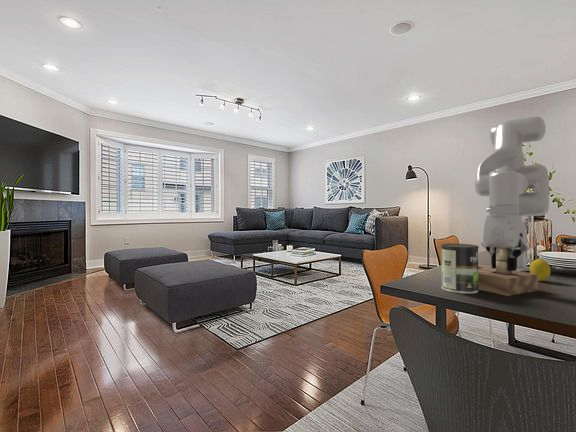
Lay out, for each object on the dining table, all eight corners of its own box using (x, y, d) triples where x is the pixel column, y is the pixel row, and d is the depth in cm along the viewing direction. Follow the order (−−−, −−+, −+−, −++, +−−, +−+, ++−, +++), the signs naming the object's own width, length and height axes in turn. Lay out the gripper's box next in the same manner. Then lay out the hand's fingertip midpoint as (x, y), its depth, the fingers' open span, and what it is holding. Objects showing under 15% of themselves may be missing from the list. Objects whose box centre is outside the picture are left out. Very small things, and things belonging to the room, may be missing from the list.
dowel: (501, 274, 97) (501, 243, 97) (514, 276, 94) (514, 244, 94) (492, 275, 96) (492, 243, 96) (506, 277, 92) (506, 245, 92)
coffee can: (482, 289, 95) (482, 244, 95) (474, 296, 88) (473, 247, 88) (446, 284, 102) (446, 242, 102) (436, 290, 95) (436, 245, 95)
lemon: (554, 283, 101) (554, 259, 101) (535, 282, 102) (535, 259, 102) (544, 279, 106) (544, 257, 106) (526, 279, 107) (526, 256, 107)
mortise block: (470, 276, 113) (470, 260, 113) (537, 290, 92) (537, 271, 92) (443, 280, 108) (443, 263, 108) (507, 296, 87) (507, 275, 87)
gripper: (470, 211, 101) (470, 265, 101) (525, 211, 85) (525, 275, 86) (485, 211, 104) (485, 264, 104) (541, 210, 88) (541, 273, 88)
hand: (503, 268), depth 95 cm, fingers closed on dowel, 4 cm apart
